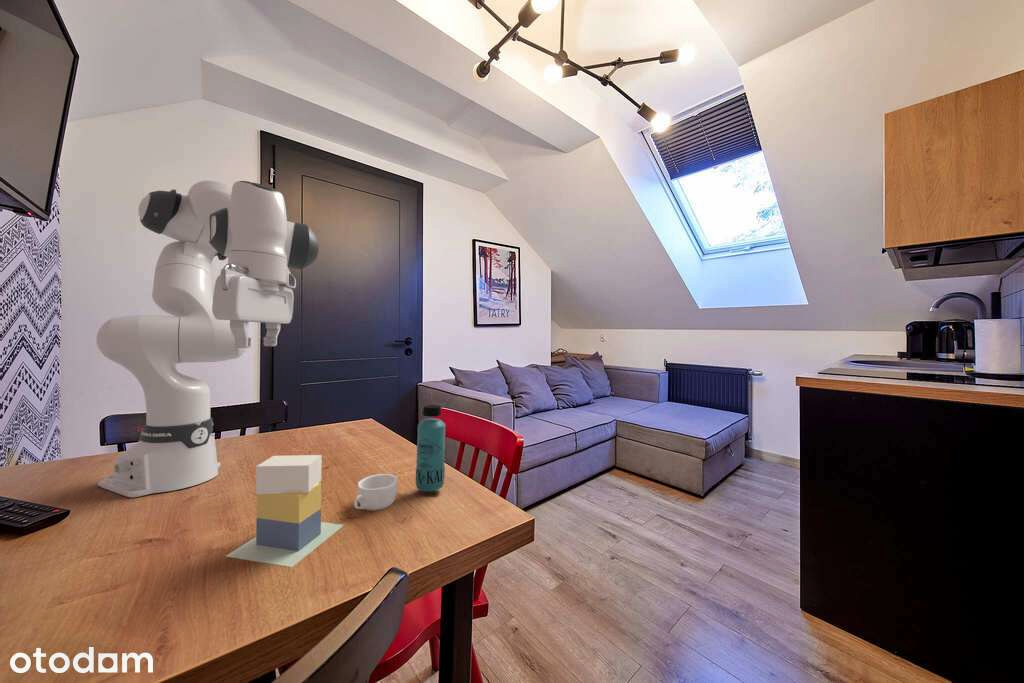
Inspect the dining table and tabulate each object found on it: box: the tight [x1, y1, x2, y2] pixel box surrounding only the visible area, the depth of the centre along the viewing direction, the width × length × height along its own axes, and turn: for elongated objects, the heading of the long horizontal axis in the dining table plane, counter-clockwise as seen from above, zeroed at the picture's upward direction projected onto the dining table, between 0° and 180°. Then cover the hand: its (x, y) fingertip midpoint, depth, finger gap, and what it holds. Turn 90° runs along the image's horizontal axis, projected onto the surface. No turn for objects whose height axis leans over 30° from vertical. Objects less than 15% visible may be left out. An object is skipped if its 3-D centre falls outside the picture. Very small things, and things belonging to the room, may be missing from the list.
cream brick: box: [255, 454, 323, 495], centre depth 60 cm, size 8×5×4 cm, turn 97°
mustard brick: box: [256, 482, 322, 524], centre depth 60 cm, size 8×5×4 cm, turn 80°
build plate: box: [225, 521, 345, 568], centre depth 60 cm, size 12×12×1 cm
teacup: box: [353, 473, 398, 511], centre depth 72 cm, size 10×8×5 cm
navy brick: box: [255, 508, 322, 551], centre depth 60 cm, size 8×5×4 cm, turn 80°
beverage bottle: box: [415, 404, 446, 492], centre depth 81 cm, size 6×7×20 cm
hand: (257, 347), depth 65 cm, fingers open, 8 cm apart
